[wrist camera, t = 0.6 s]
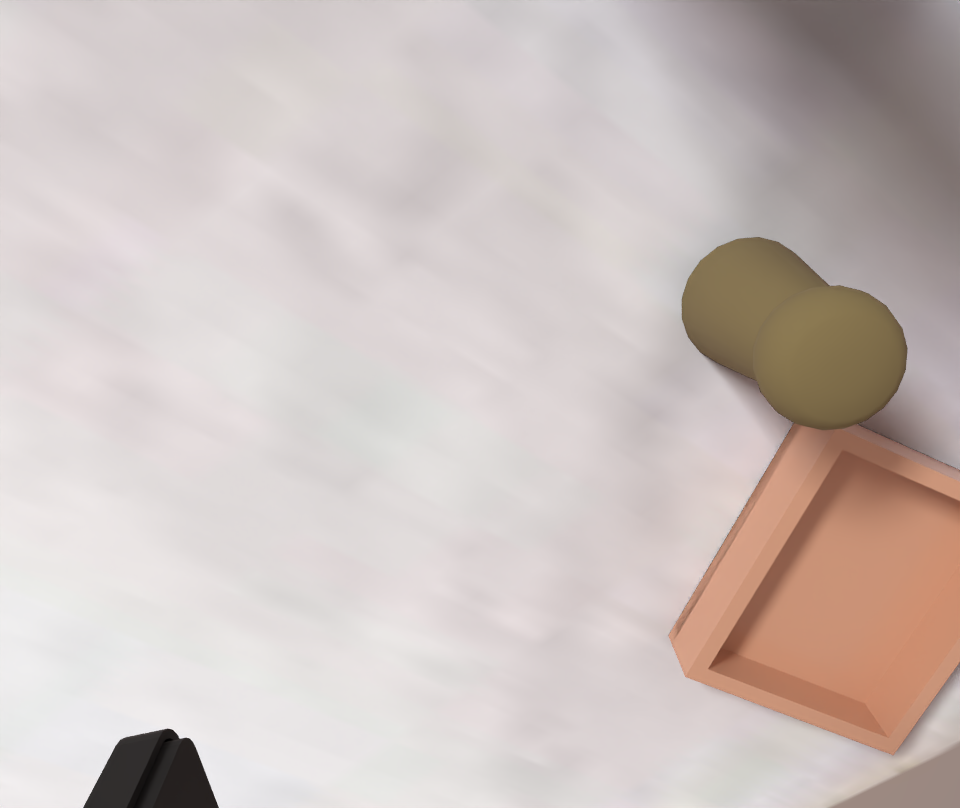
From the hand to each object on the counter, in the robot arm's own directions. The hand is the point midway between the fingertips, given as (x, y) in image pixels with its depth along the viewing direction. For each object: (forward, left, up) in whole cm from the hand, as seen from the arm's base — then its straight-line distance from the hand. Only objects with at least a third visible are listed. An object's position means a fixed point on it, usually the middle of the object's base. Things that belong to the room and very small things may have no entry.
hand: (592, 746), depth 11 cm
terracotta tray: (+6, +22, -31) cm, 39 cm away
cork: (-4, +11, -31) cm, 34 cm away
